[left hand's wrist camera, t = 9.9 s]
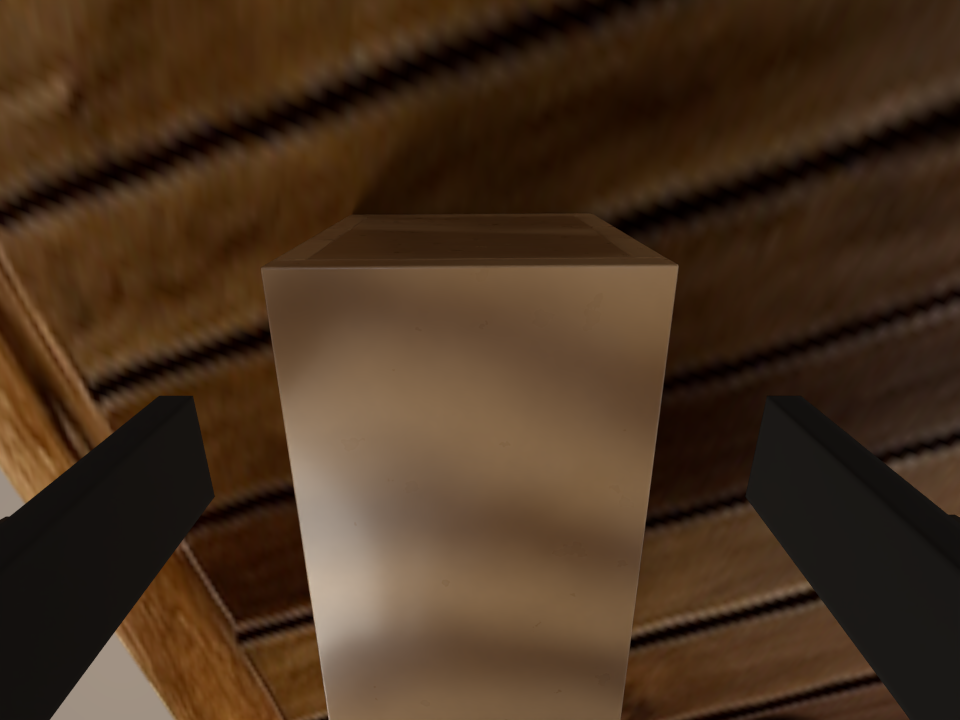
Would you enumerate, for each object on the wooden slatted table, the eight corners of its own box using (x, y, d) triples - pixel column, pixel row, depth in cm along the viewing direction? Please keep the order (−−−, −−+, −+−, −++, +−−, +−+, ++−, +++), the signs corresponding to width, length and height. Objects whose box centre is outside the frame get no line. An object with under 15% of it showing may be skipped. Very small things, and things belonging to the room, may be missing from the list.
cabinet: (570, 526, 30) (620, 722, 20) (378, 528, 30) (328, 726, 20) (592, 212, 24) (680, 264, 14) (350, 214, 24) (259, 266, 14)
